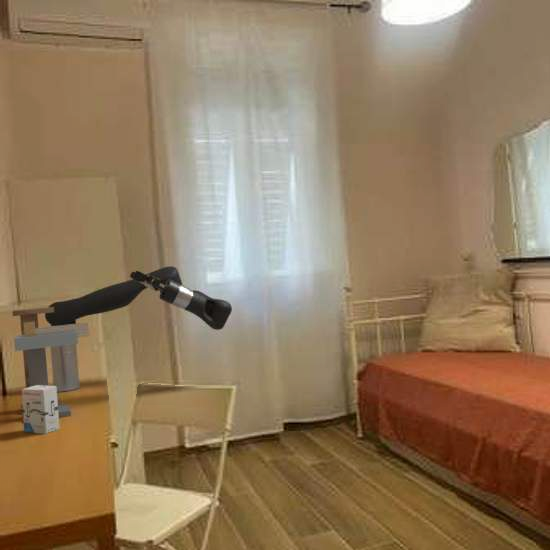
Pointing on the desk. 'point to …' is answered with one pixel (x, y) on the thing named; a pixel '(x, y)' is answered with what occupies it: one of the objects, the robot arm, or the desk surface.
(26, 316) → the walnut stand
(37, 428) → the ink box
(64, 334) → the frame
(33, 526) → the desk surface
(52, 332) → the pin
